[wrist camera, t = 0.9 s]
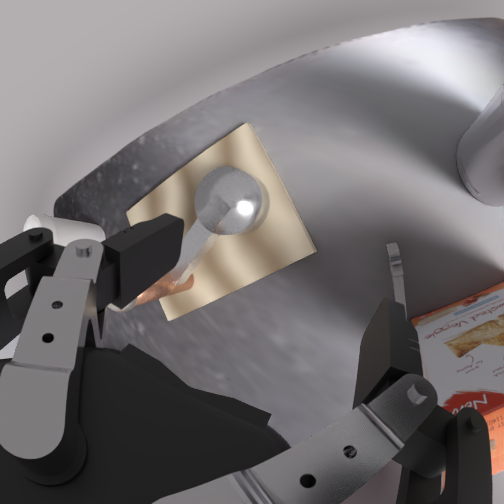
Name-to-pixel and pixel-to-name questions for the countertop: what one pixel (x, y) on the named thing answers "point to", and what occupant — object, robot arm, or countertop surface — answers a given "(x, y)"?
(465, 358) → the cracker box
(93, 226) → the foam cup
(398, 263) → the caliper
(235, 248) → the stand plate
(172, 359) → the countertop surface
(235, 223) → the lever
